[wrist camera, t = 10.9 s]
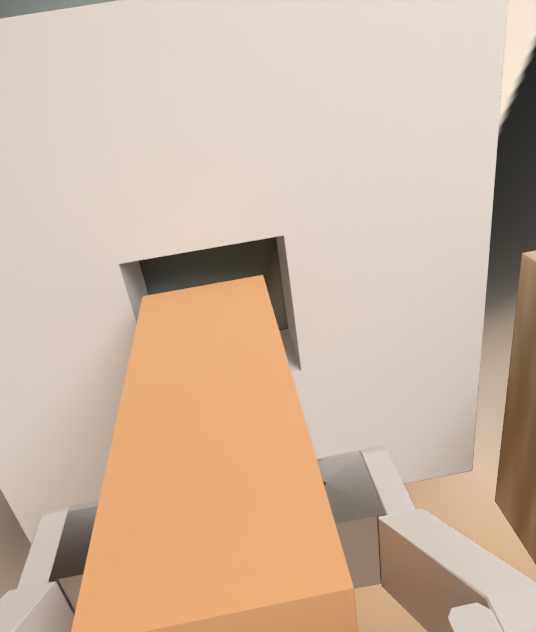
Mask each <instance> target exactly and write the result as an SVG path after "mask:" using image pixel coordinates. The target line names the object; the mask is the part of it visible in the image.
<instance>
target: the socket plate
mask: <svg viewBox="0 0 536 632" xmlns="http://www.w3.org/2000/svg"><path fill="white" fill-rule="evenodd" d="M507 10H508V0H119V1H112V2H106V3H99V4H93V5H86V6H80V7H73V8H67V9H60V10H54V11H47V12H41V13H34V14H28V15H21V16H15V17H8V18H2V19H0V489H1V490H2V492H3V494H4V496H5V498H6V500H7V501H8V503H9V505H10V507H11V508H12V510H13V512H14V514H15V515H16V518H17V519H18V521H19V523H20V525H21V527H22V528H23V530H24V532H25V534H26V536H27V538H28V539H29V541H30V543H31V544H32V541H33V538H34V535H35V532H36V529H37V526H38V523H39V520H40V518H41V516H42V515H43V514H44V512H45V511H46V510H50V509H56V508H62V507H69V506H72V505H77V504H83V503H89V502H95V501H99V498H100V494H101V489H102V484H103V480H104V475H105V470H106V466H107V461H108V456H109V451H110V447H111V442H112V437H113V433H114V428H115V423H116V419H117V414H118V409H119V405H120V400H121V395H122V391H123V386H124V381H125V376H126V372H127V367H128V362H129V358H130V353H131V348H132V344H133V339H134V334H135V330H136V325H137V320H138V316H139V311H140V306H141V301H142V297H143V296H147V295H148V291H147V288H146V284H145V281H144V277H143V273H142V270H141V266H140V263H139V260H144V259H150V258H156V257H162V256H168V255H173V254H179V253H185V252H191V251H197V250H202V249H208V248H214V247H220V246H226V245H231V244H237V243H243V242H249V241H255V240H260V239H266V238H272V237H276V242H277V249H278V256H279V264H280V271H281V278H282V285H283V293H284V300H285V307H286V314H287V322H288V329H283V330H279V332H280V335H281V339H282V342H283V345H284V349H285V352H286V356H287V359H288V363H289V366H290V370H291V373H292V376H293V380H294V383H295V387H296V390H297V394H298V397H299V401H300V404H301V408H302V411H303V414H304V418H305V421H306V425H307V428H308V432H309V435H310V439H311V442H312V445H313V449H314V452H315V456H316V459H319V458H324V457H328V456H333V455H338V454H343V453H348V452H353V451H359V450H363V449H368V448H372V447H377V446H382V445H384V446H385V447H386V448H387V449H388V451H389V453H390V456H391V458H392V460H393V462H394V464H395V466H396V468H397V470H398V472H399V474H400V477H401V479H402V481H403V483H404V484H406V483H411V482H416V481H421V480H427V479H432V478H437V477H442V476H447V475H453V474H457V473H463V472H468V471H472V468H473V455H474V442H475V441H474V440H475V428H476V415H477V402H478V390H479V376H480V363H481V351H482V337H483V324H484V311H485V298H486V285H487V272H488V258H489V246H490V233H491V220H492V207H493V193H494V179H495V167H496V154H497V141H498V128H499V115H500V102H501V89H502V76H503V63H504V49H505V36H506V23H507Z"/></svg>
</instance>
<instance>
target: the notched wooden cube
mask: <svg viewBox="0 0 536 632" xmlns="http://www.w3.org/2000/svg"><path fill="white" fill-rule="evenodd" d="M495 502H496V503H497V505H498V506H499V508H500V509H501V511H502V513H503V514H504V516H505V517H506V519H507V520H508V522H509V523H510V525H511V526H512V528H513V530H514V531H515V533H516V534H517V536H518V537H519V539H520V540H521V542H522V544H523V545H524V547H525V548H526V550H527V551H528V553H529V555H530V556H531V558H532V559H533V561H534V562H535V564H536V251H531V252H526V253H522V260H521V269H520V277H519V286H518V295H517V305H516V315H515V323H514V332H513V341H512V350H511V359H510V368H509V377H508V386H507V396H506V405H505V414H504V423H503V432H502V441H501V450H500V459H499V468H498V477H497V486H496V495H495Z"/></svg>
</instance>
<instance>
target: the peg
mask: <svg viewBox="0 0 536 632" xmlns="http://www.w3.org/2000/svg"><path fill="white" fill-rule="evenodd" d="M71 632H358V627H357V617H356V607H355V595H354V587H353V583H352V580H351V576H350V573H349V570H348V566H347V563H346V559H345V556H344V552H343V549H342V545H341V542H340V539H339V535H338V532H337V528H336V525H335V521H334V518H333V514H332V511H331V507H330V504H329V501H328V497H327V494H326V490H325V487H324V483H323V480H322V476H321V473H320V470H319V466H318V463H317V459H316V456H315V452H314V449H313V445H312V442H311V439H310V435H309V432H308V428H307V425H306V421H305V418H304V414H303V411H302V408H301V404H300V401H299V397H298V394H297V390H296V387H295V383H294V380H293V376H292V373H291V370H290V366H289V363H288V359H287V356H286V352H285V349H284V345H283V342H282V339H281V335H280V332H279V328H278V325H277V321H276V318H275V314H274V311H273V308H272V304H271V301H270V297H269V294H268V290H267V287H266V283H265V280H264V277H263V275H259V276H254V277H248V278H242V279H237V280H231V281H226V282H220V283H214V284H209V285H203V286H198V287H192V288H186V289H181V290H175V291H170V292H164V293H158V294H153V295H147V296H143V297H142V301H141V306H140V311H139V316H138V320H137V325H136V330H135V334H134V339H133V344H132V348H131V353H130V358H129V362H128V367H127V372H126V376H125V381H124V386H123V391H122V395H121V400H120V405H119V409H118V414H117V419H116V423H115V428H114V433H113V437H112V442H111V447H110V451H109V456H108V461H107V466H106V470H105V475H104V480H103V484H102V489H101V494H100V498H99V503H98V508H97V512H96V517H95V522H94V526H93V531H92V536H91V541H90V545H89V550H88V555H87V559H86V564H85V569H84V573H83V578H82V583H81V587H80V592H79V597H78V601H77V606H76V611H75V616H74V620H73V625H72V630H71Z"/></svg>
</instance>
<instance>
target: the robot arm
mask: <svg viewBox="0 0 536 632" xmlns="http://www.w3.org/2000/svg"><path fill="white" fill-rule="evenodd" d="M317 463H318V466H319V470H320V473H321V476H322V480H323V483H324V487H325V490H326V494H327V497H328V501H329V504H330V507H331V511H332V514H333V518H334V521H335V525H336V528H337V532H338V535H339V539H340V542H341V545H342V549H343V552H344V556H345V559H346V563H347V566H348V570H349V573H350V576H351V580H352V583H353V587H354V588H359V587H365V586H371V585H376V584H382V587H383V588H384V589H385V590H386V591H387V592H388V593H389V594H390V595H391V596H393V598H395V599H396V601H397V602H398V603H400V604H401V605H402V606H403V607H404V608H405V609H406V610H407V611H408V612H409V613H410V614H411V615H412V616H413V617H414V618H415V619H416V620H417V621H418V622H419V623H420V624H421V625H422V626H423V627H424V628H425V629H426V630H427V631H428V632H536V582H535V581H534V580H532V579H530V578H529V577H527V576H526V575H524V574H523V573H521V572H520V571H518V570H517V569H515V568H514V567H512V566H511V565H509V564H508V563H506V562H505V561H503V560H502V559H500V558H499V557H497V556H496V555H494V554H493V553H491V552H489V551H488V550H486V549H485V548H483V547H482V546H480V545H479V544H477V543H476V542H474V541H473V540H471V539H470V538H468V537H467V536H465V535H464V534H462V533H461V532H459V531H457V530H456V529H454V528H453V527H452V526H450V525H449V524H447V523H446V522H444V521H443V520H441V519H440V518H438V517H436V516H435V515H433V514H432V513H430V512H429V511H427V510H426V509H424V508H422V509H416V508H415V506H414V504H413V502H412V500H411V498H410V496H409V493H408V491H407V489H406V488H405V485H404V483H403V481H402V479H401V477H400V474H399V472H398V470H397V468H396V466H395V464H394V462H393V460H392V458H391V456H390V453H389V451H388V449H387V448H386V447H385V446H384V445H382V446H377V447H372V448H368V449H363V450H359V451H353V452H348V453H343V454H338V455H333V456H328V457H324V458H319V459H317ZM98 503H99V501H95V502H89V503H83V504H77V505H72V506H69V507H62V508H56V509H50V510H46V511H45V512H44V514H43V515H42V516H41V518H40V520H39V523H38V526H37V529H36V532H35V535H34V538H33V541H32V544H31V547H30V550H29V553H28V556H27V559H26V562H25V565H24V568H23V571H22V574H21V577H20V580H19V583H18V586H17V588H16V589H14V590H9V591H7V592H6V594H5V595H4V596H3V597H2V598H1V599H0V632H71V630H72V625H73V620H74V616H75V611H76V606H77V601H78V597H79V592H80V587H81V583H82V578H83V573H84V569H85V564H86V559H87V555H88V550H89V545H90V541H91V536H92V531H93V526H94V522H95V517H96V512H97V508H98Z"/></svg>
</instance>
